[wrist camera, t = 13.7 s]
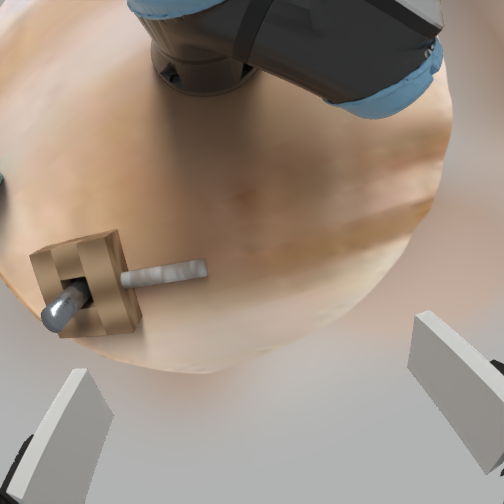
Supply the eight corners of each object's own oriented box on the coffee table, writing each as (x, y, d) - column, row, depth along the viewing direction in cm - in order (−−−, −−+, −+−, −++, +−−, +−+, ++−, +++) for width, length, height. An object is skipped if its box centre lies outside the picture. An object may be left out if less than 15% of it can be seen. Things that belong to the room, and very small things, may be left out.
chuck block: (45, 246, 39) (29, 255, 34) (197, 212, 40) (192, 219, 35) (72, 323, 43) (59, 338, 39) (216, 305, 44) (215, 321, 39)
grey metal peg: (79, 272, 41) (37, 309, 29) (96, 269, 41) (56, 306, 29) (85, 292, 42) (47, 333, 30) (102, 289, 42) (66, 332, 30)
